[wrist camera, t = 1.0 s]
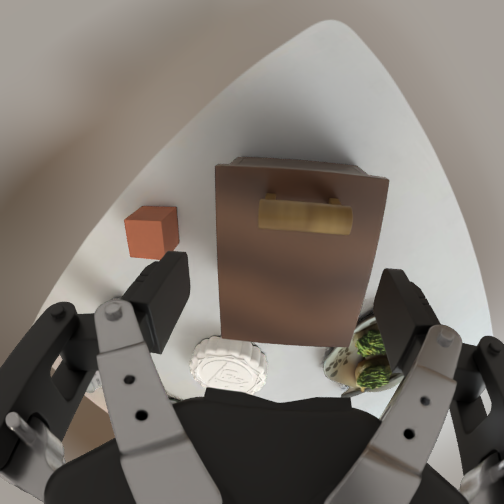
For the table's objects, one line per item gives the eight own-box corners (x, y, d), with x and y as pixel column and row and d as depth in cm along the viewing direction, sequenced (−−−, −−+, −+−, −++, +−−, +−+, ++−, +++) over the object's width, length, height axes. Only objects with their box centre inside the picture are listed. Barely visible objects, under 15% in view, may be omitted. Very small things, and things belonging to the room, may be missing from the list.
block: (142, 205, 33) (123, 219, 29) (176, 206, 32) (161, 221, 28) (146, 240, 35) (130, 257, 31) (179, 242, 34) (165, 260, 30)
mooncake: (244, 391, 47) (241, 407, 44) (183, 362, 45) (177, 378, 42) (283, 357, 41) (282, 374, 38) (213, 321, 40) (207, 339, 36)
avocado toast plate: (371, 400, 45) (375, 420, 41) (297, 373, 43) (296, 396, 39) (449, 336, 37) (459, 355, 33) (381, 290, 34) (390, 313, 30)
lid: (217, 163, 20) (196, 179, 16) (386, 177, 19) (413, 197, 15) (222, 333, 28) (211, 372, 23) (348, 342, 27) (355, 382, 22)
